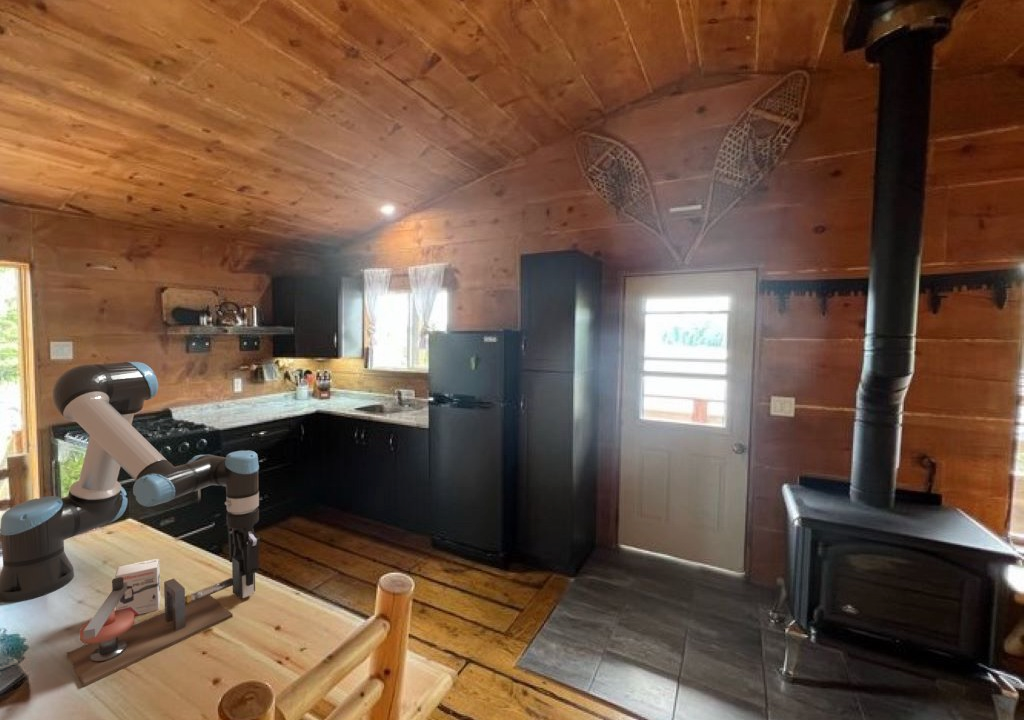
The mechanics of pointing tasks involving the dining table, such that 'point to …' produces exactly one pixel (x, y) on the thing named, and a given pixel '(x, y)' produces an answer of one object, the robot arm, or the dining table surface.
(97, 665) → the board
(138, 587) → the ink box
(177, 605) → the eye
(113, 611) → the handwheel
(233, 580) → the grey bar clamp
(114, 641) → the axle post
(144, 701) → the dining table surface
